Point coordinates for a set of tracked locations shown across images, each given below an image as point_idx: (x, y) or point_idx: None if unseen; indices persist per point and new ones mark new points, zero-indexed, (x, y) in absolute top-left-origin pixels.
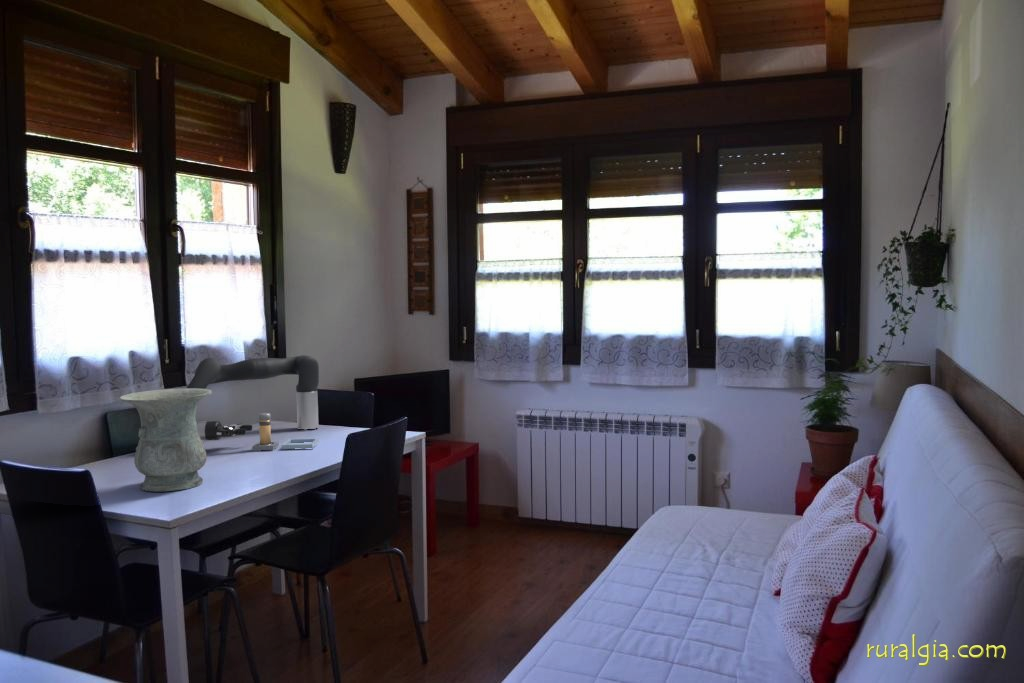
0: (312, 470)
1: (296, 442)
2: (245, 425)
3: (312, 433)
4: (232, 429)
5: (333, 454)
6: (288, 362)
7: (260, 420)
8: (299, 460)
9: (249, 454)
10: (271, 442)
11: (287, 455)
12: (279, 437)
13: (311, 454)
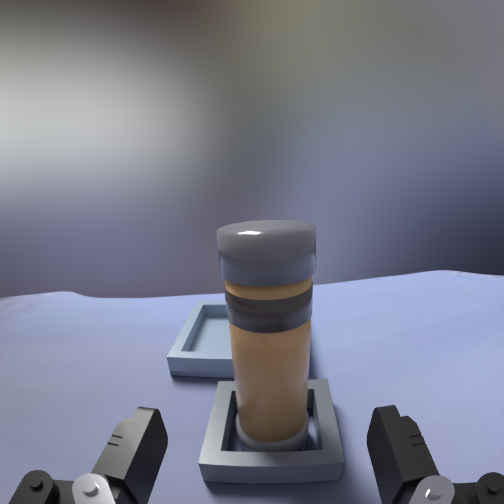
0: (496, 276)
1: (188, 350)
2: (135, 452)
3: (24, 333)
4: (454, 490)
5: (360, 281)
6: None
7: (307, 281)
8: (444, 305)
9: None
10: (230, 403)
11: (400, 339)
12: (4, 399)
13: (370, 305)
